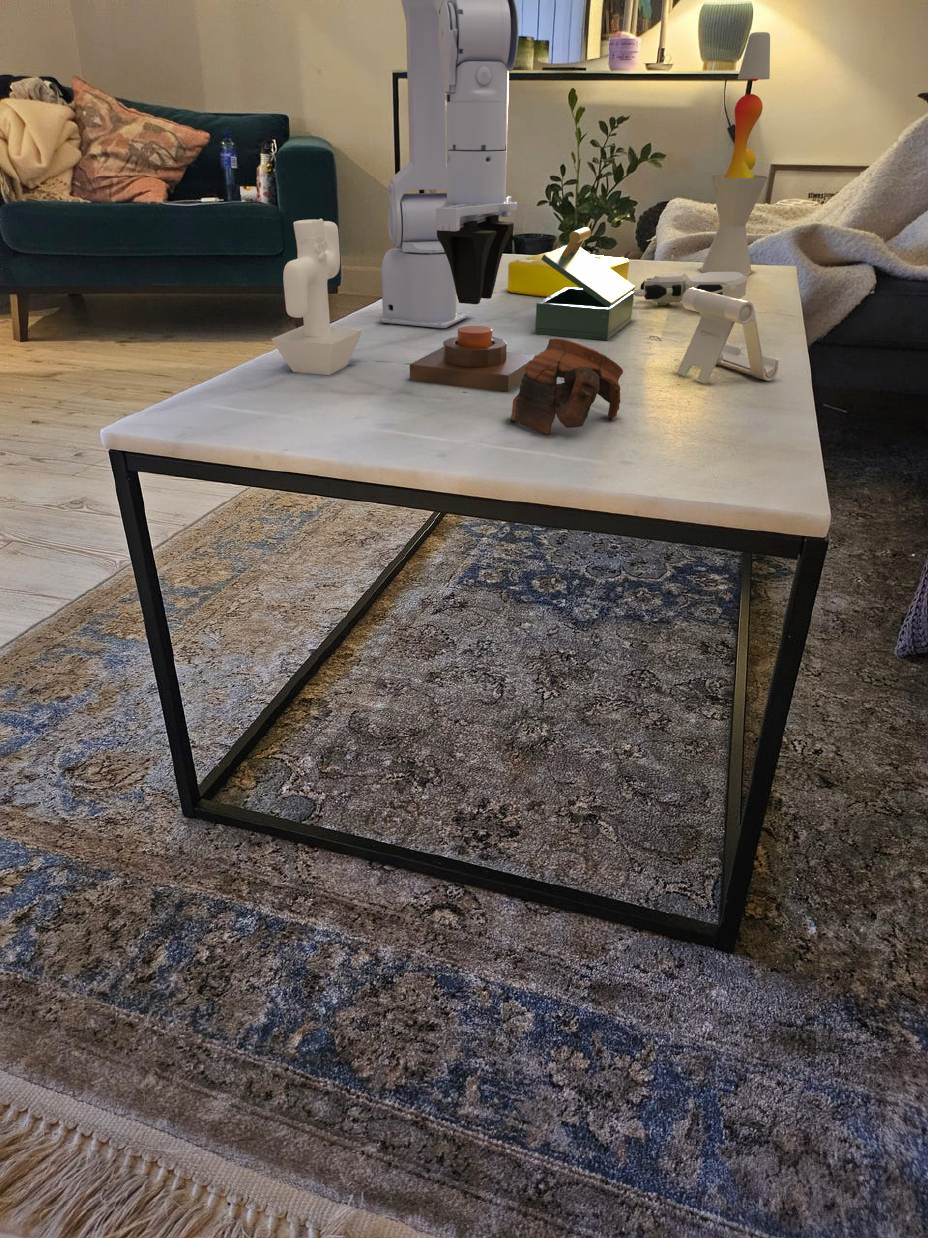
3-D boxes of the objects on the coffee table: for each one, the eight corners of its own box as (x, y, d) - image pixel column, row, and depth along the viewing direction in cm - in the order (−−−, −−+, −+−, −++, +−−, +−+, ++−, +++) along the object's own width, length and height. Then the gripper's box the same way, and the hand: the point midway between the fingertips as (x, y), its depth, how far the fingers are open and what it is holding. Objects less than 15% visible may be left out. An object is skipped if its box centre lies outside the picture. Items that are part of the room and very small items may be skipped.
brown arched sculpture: (492, 415, 83) (528, 332, 82) (577, 455, 86) (613, 376, 84) (527, 421, 72) (569, 324, 70) (624, 467, 74) (666, 375, 73)
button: (452, 348, 91) (452, 331, 90) (465, 341, 94) (465, 324, 93) (484, 351, 90) (484, 334, 89) (496, 344, 93) (497, 327, 92)
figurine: (269, 376, 93) (252, 222, 86) (311, 355, 101) (299, 212, 93) (330, 382, 91) (318, 225, 84) (368, 361, 99) (361, 215, 91)
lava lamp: (743, 277, 149) (781, 29, 131) (692, 272, 153) (722, 31, 136) (759, 270, 155) (797, 33, 138) (709, 265, 160) (740, 35, 142)
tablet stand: (775, 380, 93) (791, 297, 88) (717, 389, 90) (730, 303, 85) (721, 361, 99) (732, 283, 95) (665, 369, 96) (674, 289, 92)
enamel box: (534, 333, 111) (536, 303, 109) (564, 315, 121) (565, 286, 119) (607, 340, 108) (609, 309, 106) (631, 321, 118) (634, 292, 116)
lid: (540, 259, 107) (558, 228, 104) (570, 246, 117) (587, 218, 114) (608, 308, 106) (627, 278, 104) (632, 291, 116) (650, 263, 114)
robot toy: (629, 315, 125) (737, 316, 120) (629, 281, 123) (740, 280, 117) (649, 300, 135) (750, 300, 129) (650, 268, 133) (753, 267, 127)
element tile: (631, 287, 140) (634, 255, 138) (590, 302, 129) (593, 267, 127) (547, 278, 147) (549, 247, 144) (502, 292, 136) (503, 259, 134)
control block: (409, 380, 92) (408, 346, 90) (444, 360, 99) (444, 328, 97) (507, 392, 88) (508, 357, 87) (536, 371, 95) (538, 338, 94)
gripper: (487, 153, 76) (485, 316, 83) (541, 147, 87) (535, 291, 94) (414, 152, 78) (417, 310, 85) (476, 146, 90) (474, 286, 97)
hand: (475, 300), depth 90 cm, fingers open, 3 cm apart
